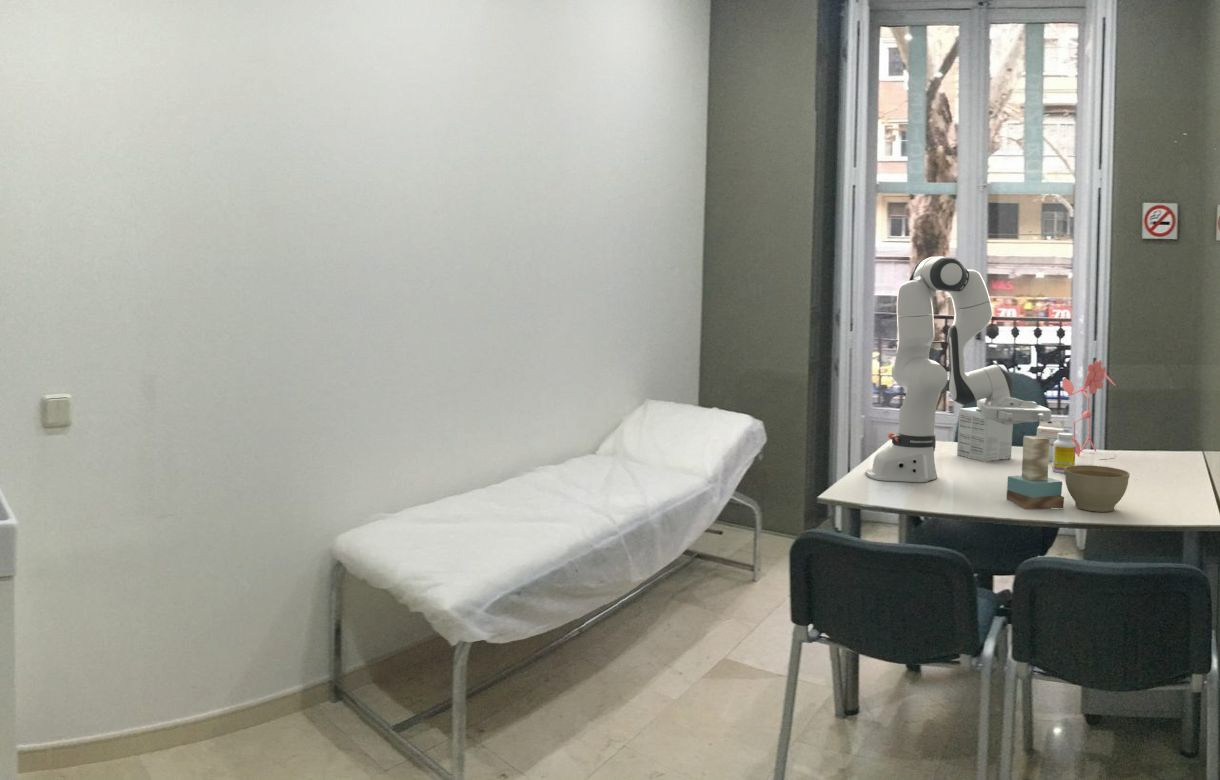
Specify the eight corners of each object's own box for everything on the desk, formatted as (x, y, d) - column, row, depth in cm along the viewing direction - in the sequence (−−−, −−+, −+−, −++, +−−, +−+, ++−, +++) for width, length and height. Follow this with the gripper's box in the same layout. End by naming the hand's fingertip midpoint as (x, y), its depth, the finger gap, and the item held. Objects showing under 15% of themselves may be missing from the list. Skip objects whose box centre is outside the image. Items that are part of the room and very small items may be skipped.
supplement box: (983, 452, 331) (985, 405, 329) (1011, 458, 319) (1014, 410, 317) (956, 455, 326) (958, 408, 324) (984, 462, 314) (986, 413, 312)
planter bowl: (1099, 500, 260) (1102, 463, 259) (1140, 514, 245) (1143, 475, 243) (1049, 502, 258) (1052, 465, 257) (1087, 517, 242) (1090, 478, 241)
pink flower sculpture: (1049, 455, 325) (1057, 360, 320) (1091, 448, 338) (1099, 357, 333) (1090, 463, 312) (1099, 364, 307) (1132, 456, 325) (1141, 361, 320)
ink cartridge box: (1034, 459, 317) (1036, 419, 316) (1036, 457, 322) (1038, 417, 320) (1061, 462, 313) (1063, 421, 311) (1062, 460, 317) (1065, 419, 315)
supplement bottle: (1076, 474, 294) (1079, 435, 293) (1055, 473, 296) (1057, 435, 294) (1070, 469, 301) (1073, 432, 299) (1049, 469, 302) (1051, 431, 301)
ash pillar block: (1030, 480, 253) (1031, 438, 251) (1021, 477, 258) (1023, 436, 256) (1047, 480, 253) (1049, 438, 251) (1039, 476, 258) (1040, 435, 256)
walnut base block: (1024, 511, 250) (1025, 497, 250) (1006, 501, 261) (1007, 488, 261) (1063, 510, 251) (1064, 497, 250) (1043, 501, 262) (1044, 487, 261)
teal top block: (1032, 497, 249) (1032, 483, 249) (1007, 489, 259) (1007, 476, 258) (1061, 495, 252) (1062, 481, 252) (1035, 487, 262) (1036, 474, 261)
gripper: (974, 399, 281) (991, 405, 268) (1039, 402, 281) (1060, 408, 267) (972, 418, 282) (989, 425, 269) (1037, 421, 282) (1058, 429, 268)
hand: (1025, 417), depth 268 cm, fingers open, 8 cm apart
